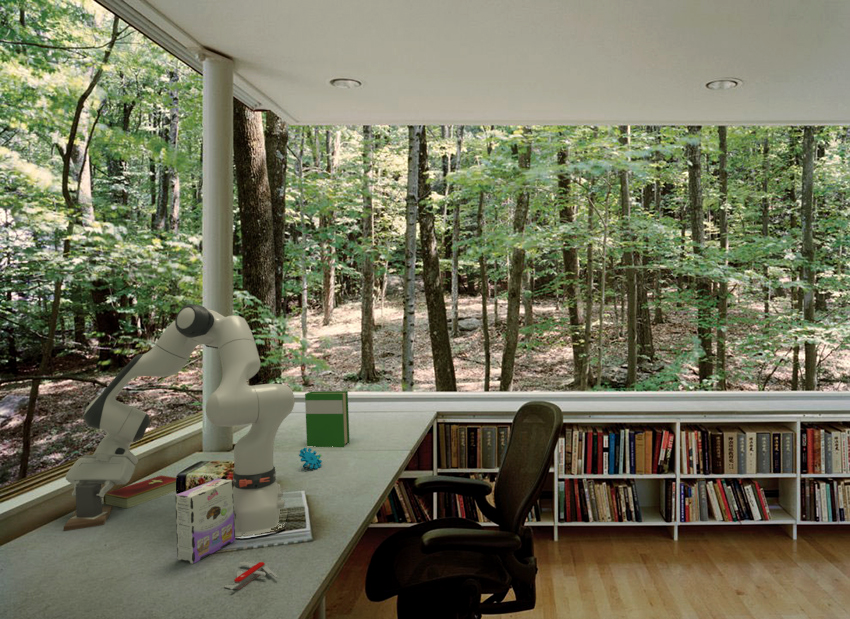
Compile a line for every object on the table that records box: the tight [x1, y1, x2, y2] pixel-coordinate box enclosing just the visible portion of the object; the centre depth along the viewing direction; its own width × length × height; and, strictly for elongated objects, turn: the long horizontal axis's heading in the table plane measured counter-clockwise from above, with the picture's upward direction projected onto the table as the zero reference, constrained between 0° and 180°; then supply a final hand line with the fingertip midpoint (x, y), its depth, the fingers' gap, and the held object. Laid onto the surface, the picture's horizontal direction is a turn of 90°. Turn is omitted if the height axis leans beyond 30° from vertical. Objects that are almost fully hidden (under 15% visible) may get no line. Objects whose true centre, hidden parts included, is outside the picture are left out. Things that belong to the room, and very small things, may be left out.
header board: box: [63, 505, 114, 532], centre depth 162 cm, size 14×10×4 cm
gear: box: [298, 447, 323, 470], centre depth 209 cm, size 11×6×10 cm
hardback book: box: [304, 390, 350, 448], centre depth 244 cm, size 18×7×24 cm, turn 79°
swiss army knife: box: [223, 561, 279, 590], centre depth 120 cm, size 12×14×2 cm
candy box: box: [174, 477, 236, 565], centre depth 137 cm, size 14×6×16 cm, turn 154°
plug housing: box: [75, 483, 103, 518], centre depth 162 cm, size 6×4×9 cm, turn 81°
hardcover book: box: [102, 474, 177, 509], centre depth 182 cm, size 12×21×4 cm, turn 153°
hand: (87, 496), depth 162 cm, fingers open, 7 cm apart
